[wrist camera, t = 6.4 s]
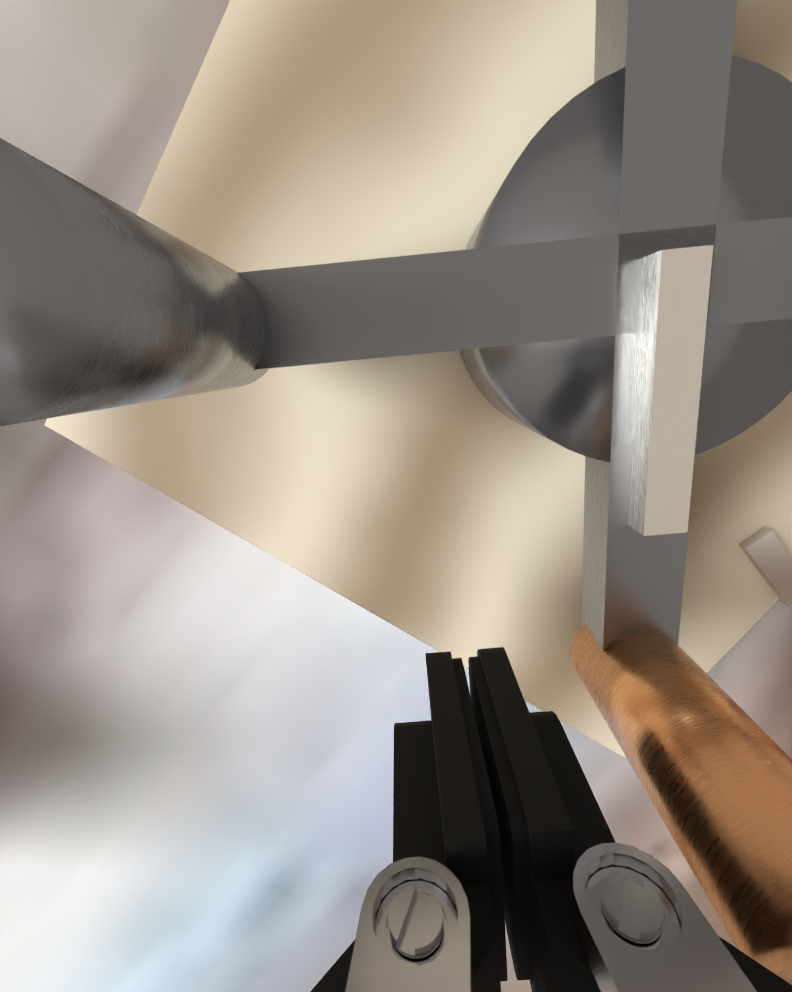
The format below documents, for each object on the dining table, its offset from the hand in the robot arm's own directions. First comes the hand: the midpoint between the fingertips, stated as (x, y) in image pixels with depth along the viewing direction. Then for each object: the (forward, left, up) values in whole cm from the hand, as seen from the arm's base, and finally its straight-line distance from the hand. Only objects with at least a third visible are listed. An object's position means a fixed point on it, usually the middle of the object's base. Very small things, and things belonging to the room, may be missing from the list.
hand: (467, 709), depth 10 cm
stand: (+2, -9, -6) cm, 11 cm away
